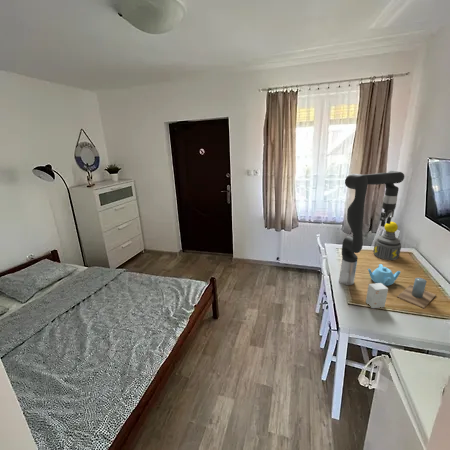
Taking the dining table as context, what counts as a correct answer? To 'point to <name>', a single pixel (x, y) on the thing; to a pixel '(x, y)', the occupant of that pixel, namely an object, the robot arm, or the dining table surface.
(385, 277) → the teapot
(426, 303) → the placemat
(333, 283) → the dining table surface
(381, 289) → the small box
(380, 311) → the dining table surface
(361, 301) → the dining table surface
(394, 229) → the toy tesla coil
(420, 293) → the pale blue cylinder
